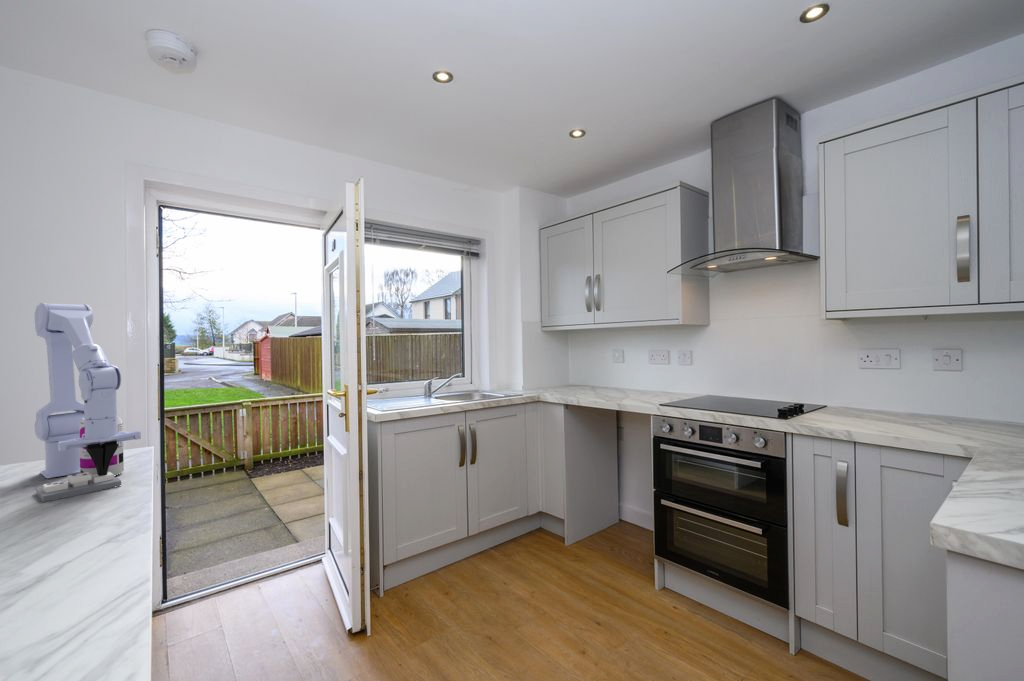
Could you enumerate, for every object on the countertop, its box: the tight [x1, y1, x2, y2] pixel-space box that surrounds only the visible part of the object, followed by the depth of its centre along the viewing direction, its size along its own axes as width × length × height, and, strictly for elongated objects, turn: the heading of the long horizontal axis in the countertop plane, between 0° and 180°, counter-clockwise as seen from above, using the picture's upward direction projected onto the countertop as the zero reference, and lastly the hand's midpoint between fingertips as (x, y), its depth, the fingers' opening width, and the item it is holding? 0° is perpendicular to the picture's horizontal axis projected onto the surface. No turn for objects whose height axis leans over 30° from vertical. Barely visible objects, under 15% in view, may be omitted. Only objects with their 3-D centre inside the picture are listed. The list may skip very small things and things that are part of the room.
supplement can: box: [79, 414, 125, 476], centre depth 117 cm, size 8×8×15 cm
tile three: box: [42, 480, 68, 493], centre depth 103 cm, size 4×4×2 cm
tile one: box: [91, 472, 114, 483], centre depth 109 cm, size 4×4×2 cm
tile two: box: [66, 472, 91, 487], centre depth 106 cm, size 4×4×2 cm
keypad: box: [35, 476, 122, 503], centre depth 106 cm, size 9×13×1 cm
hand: (102, 474), depth 109 cm, fingers closed, pressing on tile one
